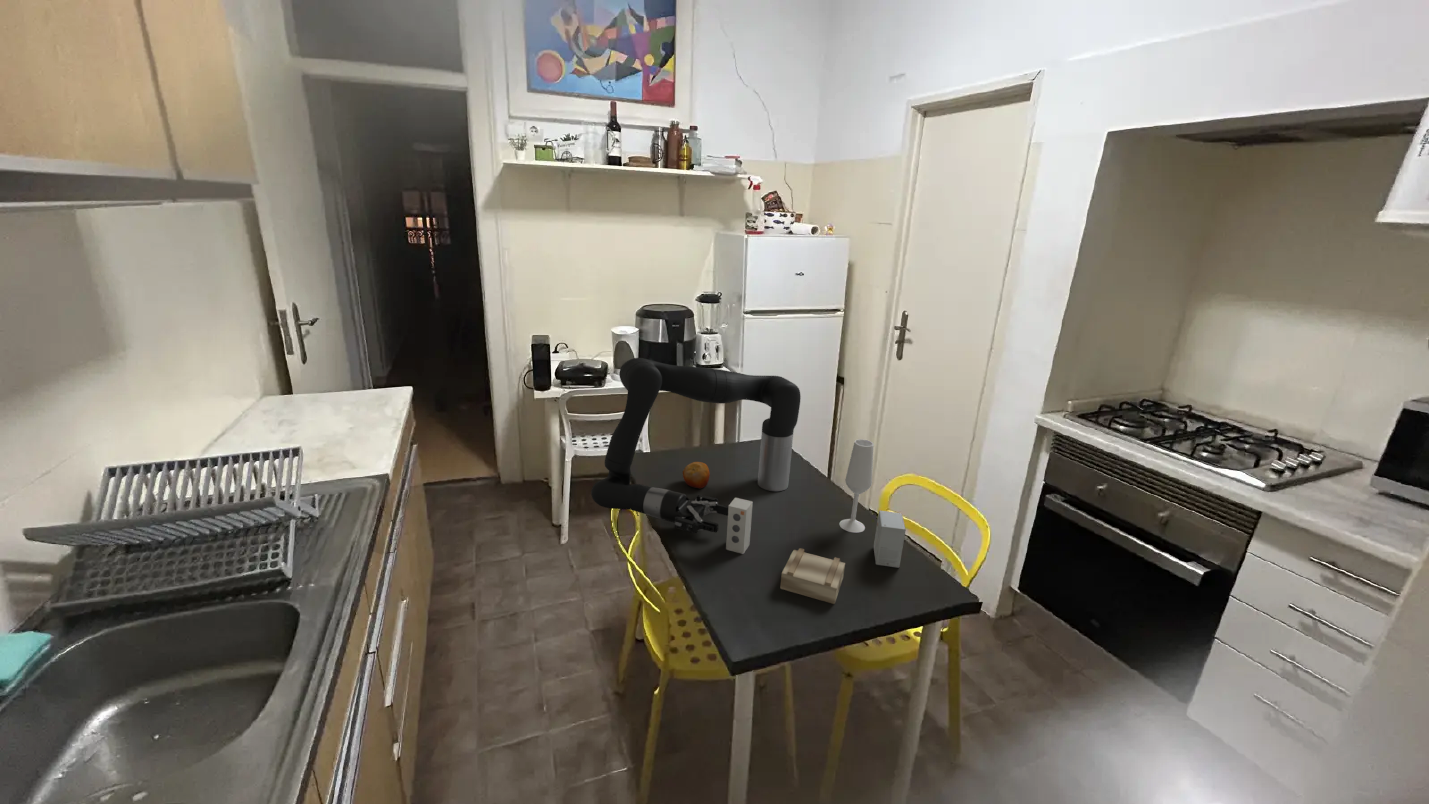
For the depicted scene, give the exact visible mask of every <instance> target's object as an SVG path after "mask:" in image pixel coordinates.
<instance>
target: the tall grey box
mask: <svg viewBox="0 0 1429 804" xmlns="http://www.w3.org/2000/svg"><path fill="white" fill-rule="evenodd" d="M753 503H754V502H753V501H752V500H747V499H743V498H739V497H734V498H733V500H732V501H731V502H730V504H728V507H729V508H728V516H727V527H726V542H725V550H727V551H731V552H734V553H737V554H741V555H744V554H745V552H746V550H748V548H749V546H750V544H751V542H750V541H751V528H752V517H753V516H752V515H753Z"/></svg>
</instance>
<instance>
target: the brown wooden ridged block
mask: <svg viewBox="0 0 1429 804" xmlns="http://www.w3.org/2000/svg"><path fill="white" fill-rule="evenodd" d="M845 566H846V562H842V561H841V558H840V557H836V556H834V558H833V559H831V558H827V557H823V556H819V555H816V554H812V553H807V552H805V549H804V548H800V547H799V548H798V550H796V549H793V551H792V552H791V554H790V556H789V558H788V560H787V562H786V564H785V566H784V568H783V569H782V572H781V577H780V589H781V590H783V591H784V590H785V591H787V592H791V593H794V594H797V595H798V594H799V595H800V596H801V595H802V596H805V597H809V598H812V599H816V600H817V601H818V600H819V601H822V602H826V603H829V604H832V605H835V604H836V602H837V598H838V595H839V592H840V589H841V586H842V583H843V580H844V576H845V575H844V574H845Z"/></svg>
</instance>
